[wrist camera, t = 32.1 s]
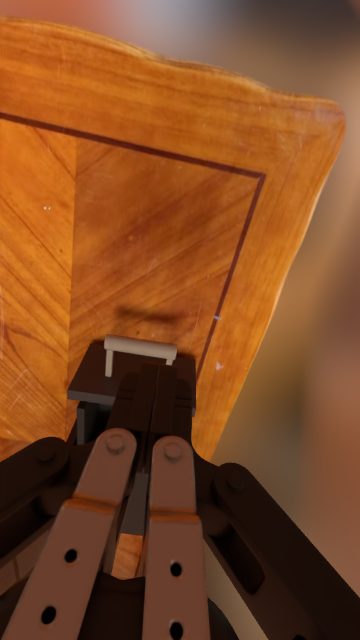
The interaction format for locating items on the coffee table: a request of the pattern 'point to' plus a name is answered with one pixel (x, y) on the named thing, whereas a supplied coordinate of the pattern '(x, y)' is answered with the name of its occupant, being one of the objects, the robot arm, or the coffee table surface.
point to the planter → (21, 564)
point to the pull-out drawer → (118, 378)
